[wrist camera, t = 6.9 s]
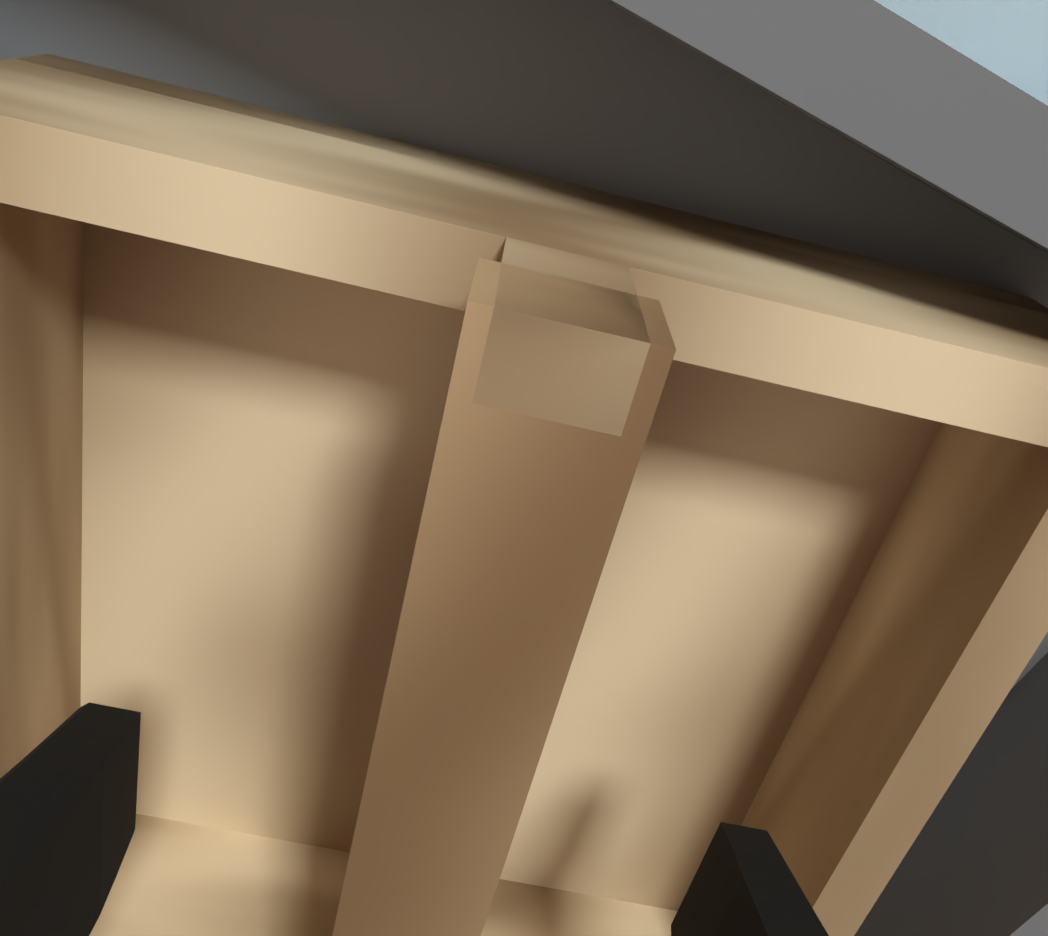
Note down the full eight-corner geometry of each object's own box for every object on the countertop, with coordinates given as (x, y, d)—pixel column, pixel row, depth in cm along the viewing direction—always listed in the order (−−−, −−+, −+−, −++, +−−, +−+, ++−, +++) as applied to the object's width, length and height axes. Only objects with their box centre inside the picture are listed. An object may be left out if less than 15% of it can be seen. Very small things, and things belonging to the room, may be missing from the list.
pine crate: (1031, 297, 12) (1355, 509, 7) (716, 910, 18) (778, 1254, 13) (48, 52, 11) (-351, 108, 6) (55, 790, 17) (-145, 1118, 12)
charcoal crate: (1365, 347, 13) (1660, 478, 10) (665, 1050, 22) (687, 1255, 18) (-13, -471, 10) (-344, -739, 6) (-207, 765, 18) (-390, 953, 15)
